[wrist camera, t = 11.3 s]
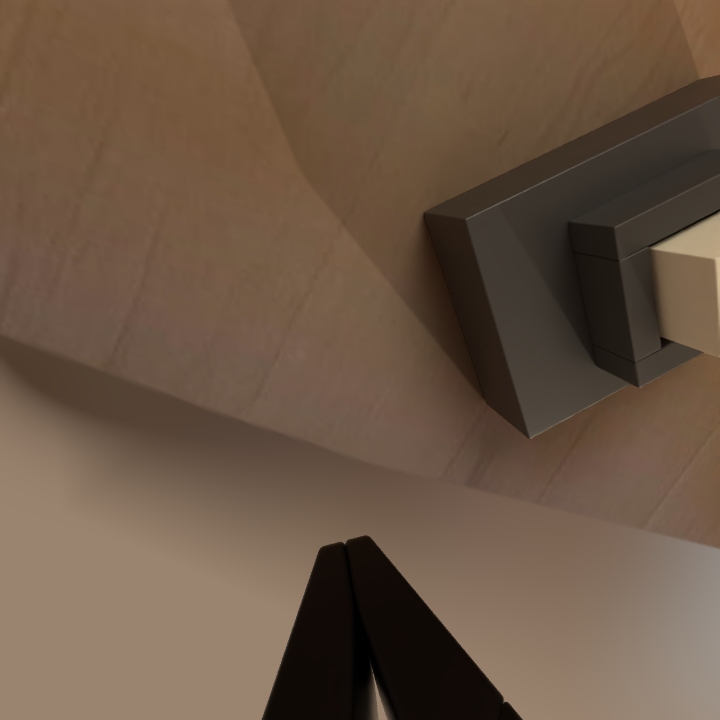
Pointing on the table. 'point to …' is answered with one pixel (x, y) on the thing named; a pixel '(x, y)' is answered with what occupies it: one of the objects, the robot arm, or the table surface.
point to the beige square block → (689, 285)
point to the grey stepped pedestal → (578, 258)
